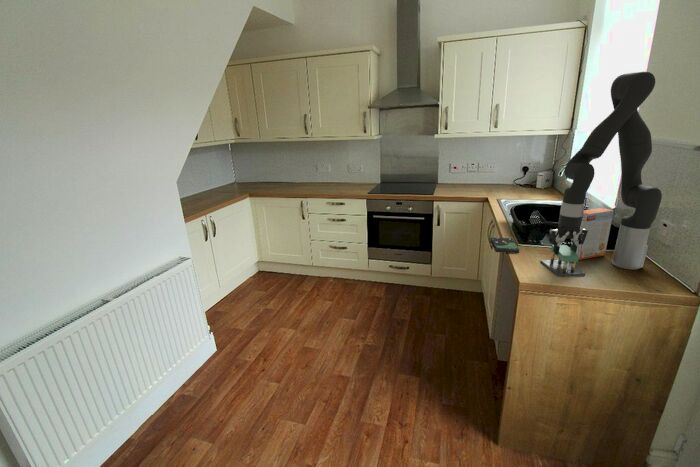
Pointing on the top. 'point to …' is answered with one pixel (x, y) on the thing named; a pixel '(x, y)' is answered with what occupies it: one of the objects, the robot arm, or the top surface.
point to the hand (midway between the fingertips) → (564, 253)
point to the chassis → (562, 267)
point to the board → (566, 254)
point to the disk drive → (504, 245)
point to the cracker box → (595, 232)
